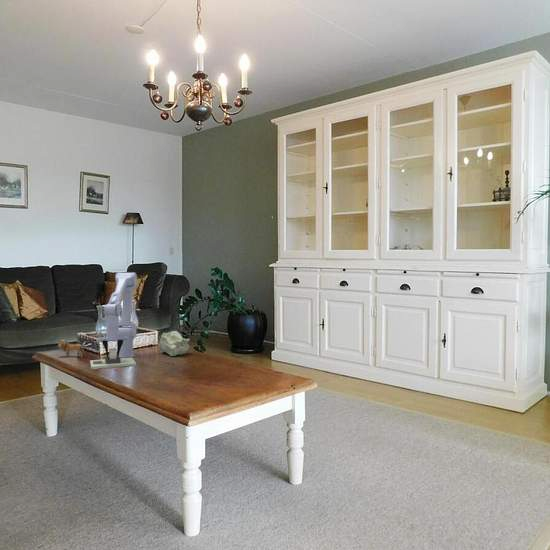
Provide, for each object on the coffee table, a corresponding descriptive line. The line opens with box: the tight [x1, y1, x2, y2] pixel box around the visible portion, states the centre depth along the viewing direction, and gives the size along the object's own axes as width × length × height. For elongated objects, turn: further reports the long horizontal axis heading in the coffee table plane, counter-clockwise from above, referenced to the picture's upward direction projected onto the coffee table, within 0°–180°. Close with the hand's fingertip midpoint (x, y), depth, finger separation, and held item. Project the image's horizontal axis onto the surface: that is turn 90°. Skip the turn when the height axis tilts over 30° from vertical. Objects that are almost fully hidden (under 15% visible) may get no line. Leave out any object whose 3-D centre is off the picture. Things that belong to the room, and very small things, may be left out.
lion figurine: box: [57, 339, 88, 358], centre depth 254 cm, size 15×5×9 cm, turn 95°
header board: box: [89, 355, 137, 370], centre depth 237 cm, size 15×20×3 cm
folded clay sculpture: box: [158, 330, 191, 357], centre depth 262 cm, size 18×13×16 cm
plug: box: [108, 347, 117, 359], centre depth 237 cm, size 5×3×6 cm, turn 23°
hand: (112, 356), depth 237 cm, fingers open, 4 cm apart
